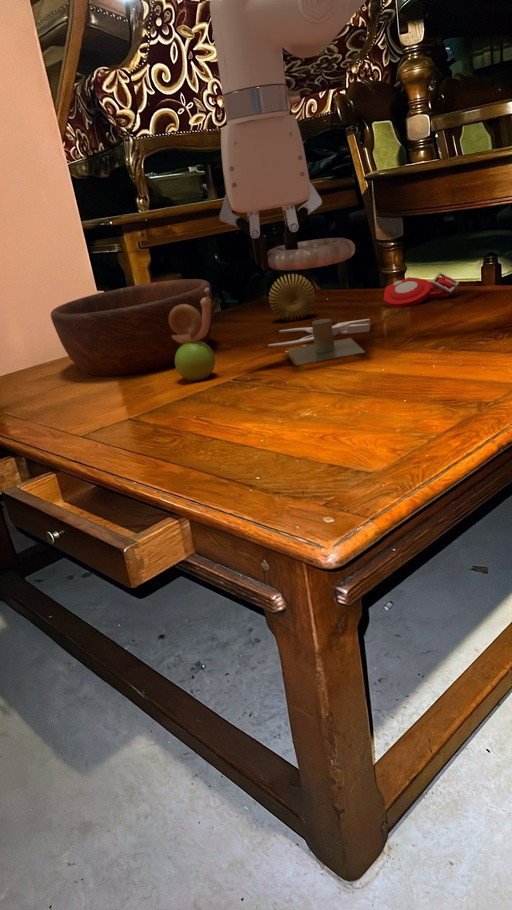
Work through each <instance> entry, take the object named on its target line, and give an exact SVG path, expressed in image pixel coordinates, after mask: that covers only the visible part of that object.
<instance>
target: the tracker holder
mask: <svg viewBox="0 0 512 910" xmlns="http://www.w3.org/2000/svg"><path fill="white" fill-rule="evenodd" d="M459 284H460V281H458V280H456V279H455V278H452V277H451V276H448V275H446V274H445V273H443V272H440V271H439V272H438V273H437V274H436V276H435V277H434V278H433V280H432V281H429V280H427V279H425V278H419V277H409V276H408V277H406V278H405V277H404V278H403V279H400V280H396V281H394V282H393V283H392V284H388V285H387V286H386V287H385V289H384V293H383V303H384V305H385V306H386V307H389V308H407V307H413V306H415V305H418V304H419V303H422V302H423V301H424V300H426V299H444V298H448V297H449V296H450V295H451V294H452V293H453V292H454V290H455V289H456V288H457V287H458V286H459ZM439 289H441V290H442V291H441V290H440V291H434V290H439Z"/></svg>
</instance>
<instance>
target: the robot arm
mask: <svg viewBox="0 0 512 910" xmlns="http://www.w3.org/2000/svg"><path fill="white" fill-rule="evenodd" d="M366 2H367V0H209V15H210V21H211V28H212V35H213V41H214V47H215V53H216V61H217V67H218V74H219V81H220V87H221V92H222V101H223V107H224V114H225V120H226V125H225V126H222V127H221V129H220V150H221V152H220V153H221V163H222V172H223V180H224V190H225V194H224V195H225V196H224V199H223V202H222V205H221V209H220V212H219V216H218V218H219V220H220V222H223V223H226V224H228V225H231V226H234V227H237V228H239V229H240V230H241V231H243V232H244V233H246V234H247V235H248V236H250V237H251V239H252V247H253V254H254V261H255V264H256V265H260V267H261V269H262V271H268V270H269V269H270V266H269V264H268V256H267V252H268V249H267V244H266V243H267V242H266V238H265V237H264V236H263V232H262V231H261V227H260V225H261V224H260V215H259V213H260V212H259V211H265V210H270V209H277V208H281V209H282V213H283V219H284V224H285V226H284V232H283V233H282V236H283V242H284V244H283V245H285V250H294V249H298V242H299V241H298V235H297V232H298V231H299V228H300V227H301V225H302V224H303V222H304V221H305V219H306V218H307V216H308V215H310V214H311V213H312V212H314V211H315V210H316V209H317V208H319V207H320V206H321V205H322V204H323V200H322V199H323V198H321V196H320V194H319V193H318V191H317V190H316V188H315V187H314V185H313V183H312V182H311V180H310V175H309V170H308V162H307V158H306V152H305V148H304V143H303V139H302V135H301V131H300V127H299V123H298V121H297V118H296V115H295V114H290V111H291V108H292V106H294V105H297V104H300V103H301V93H300V91H299V90H295V91H293V90H290V88H288V85H287V82H286V81H287V80H286V73H285V66H284V58H283V57H284V56H283V49H284V50H285V51H286V52H287V53H289V54H290V55H292V56H294V57H296V58H299V59H300V58H302V59H308V58H313V57H317V56H318V55H320V54H321V53H323V52H324V51H325V50H326V49H328V47H329V46H330V44H331V43H332V42H333V41H334V40H335V38H336V37H337V36H338V35H339V33H340V32H341V31H342V30H343V29H344V28H345V26H346V25H347V24H348V23H349V22H350V20H351V19H352V18H353V17H354V15H356V14H357V12H359V10H360V9H361V8H362V7H363V5H364V4H365V3H366ZM304 202H305V203H304ZM302 203H304V204H302ZM298 204H302V205H301V206H300V207H298V208H297V209H296V207H295V205H298ZM233 212H236V213H241V214H243V213H244V214H245V213H246V215H247V216H246V217H247V220H246V218H244V217H242V216H239V215H237V214H234V213H233Z"/></svg>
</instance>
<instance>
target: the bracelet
mask: <svg viewBox="0 0 512 910" xmlns="http://www.w3.org/2000/svg"><path fill="white" fill-rule="evenodd" d="M297 242H298V249H294V250H285V245H284V244H283V245H279V246H276V247H273V248H271V249H269V250H267V256H268V264H269V268H270V269H272V270H275V271H296V270H297V271H298V270H308V269H315V268H320V267H327V266H331V265H334V264H338V263H342V262H345V261H347V260H349V259H350V258H352V257H353V256H354V254H355V252H356V245H355V243H354V242H353V240H351V239H348V238H346V237H328V238H317V239H309V240H304V241H297Z"/></svg>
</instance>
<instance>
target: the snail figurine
mask: <svg viewBox="0 0 512 910" xmlns="http://www.w3.org/2000/svg"><path fill="white" fill-rule="evenodd" d="M204 292H205V293H208V292H209V288H206V289H205V290H204ZM201 306H202V318H201V315H200V313H199V312H198V310H197V309H195V308H194V307H193V306H191V305H187V304H180V305H177V306H175V307H174V308H173V309H172V310H171V312H170V314H169V325H170V327H171V329H172V330H173V331H174V332H175V333H177V334H178V335H172V338H173V339H174V340H175V341H177V342H179V343H182V344H183V345H182V346H180V348H179V349H178V350H177V352H176V355H175V364H174V366H175V369H176V371H177V373H178V374H179V375H180V376H181V377H182V378H183V379H185V380H187V381H189V382H199V381H203V380H205V379H207V378H208V377H209V376H211V374H212V373H213V371H214V369H215V365H216V357H215V354H214V353H215V352H214V351H213V349H212V348H211V346H210V345H208V343H207V344H205V343H203V342H201V341H199V340H200V339H202V338H203V337H204V336H205V335H206V334H207V332H208V330H209V326H210V316H211V311H210V307H211V300H210V299H209V293H208V295H207V297H204V298H202V300H201Z"/></svg>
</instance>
